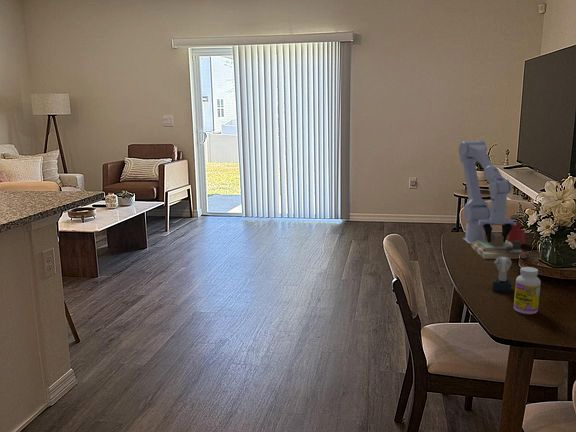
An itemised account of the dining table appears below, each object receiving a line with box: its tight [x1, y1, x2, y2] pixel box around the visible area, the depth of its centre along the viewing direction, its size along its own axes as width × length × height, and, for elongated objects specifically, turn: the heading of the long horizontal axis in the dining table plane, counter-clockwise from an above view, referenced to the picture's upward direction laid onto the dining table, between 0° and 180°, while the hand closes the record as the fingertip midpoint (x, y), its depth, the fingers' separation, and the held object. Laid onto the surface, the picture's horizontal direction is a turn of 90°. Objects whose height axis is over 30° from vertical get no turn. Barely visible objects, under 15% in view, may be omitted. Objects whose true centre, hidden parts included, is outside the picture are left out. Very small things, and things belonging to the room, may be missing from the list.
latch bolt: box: [509, 241, 522, 252], centre depth 210 cm, size 5×2×4 cm, turn 177°
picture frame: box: [470, 239, 525, 260], centre depth 220 cm, size 18×16×4 cm
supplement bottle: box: [513, 266, 542, 315], centre depth 159 cm, size 7×7×13 cm
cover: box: [477, 231, 513, 249], centre depth 221 cm, size 12×12×5 cm
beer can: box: [506, 214, 526, 246], centre depth 231 cm, size 7×7×12 cm
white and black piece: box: [491, 257, 512, 294], centre depth 177 cm, size 6×8×11 cm
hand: (496, 242), depth 222 cm, fingers open, 5 cm apart
